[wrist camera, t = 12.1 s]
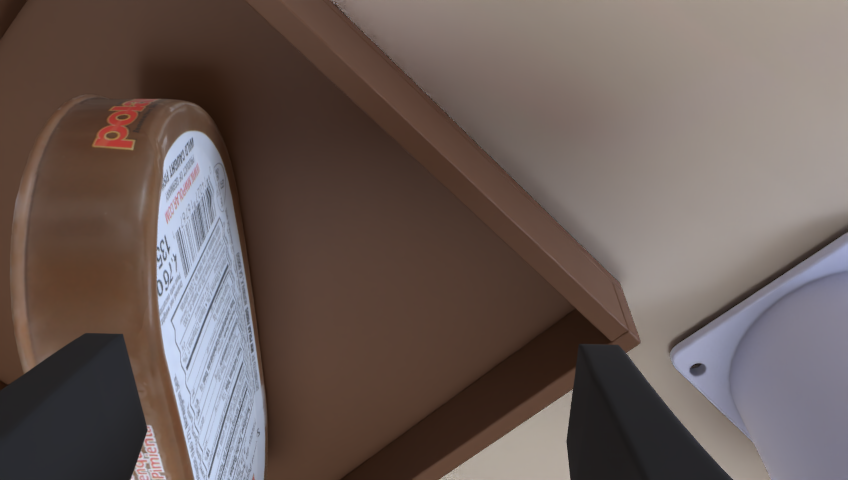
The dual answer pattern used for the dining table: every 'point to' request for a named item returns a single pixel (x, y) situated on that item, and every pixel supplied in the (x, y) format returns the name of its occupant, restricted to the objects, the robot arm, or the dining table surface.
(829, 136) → the dining table surface
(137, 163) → the tin
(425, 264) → the tray
